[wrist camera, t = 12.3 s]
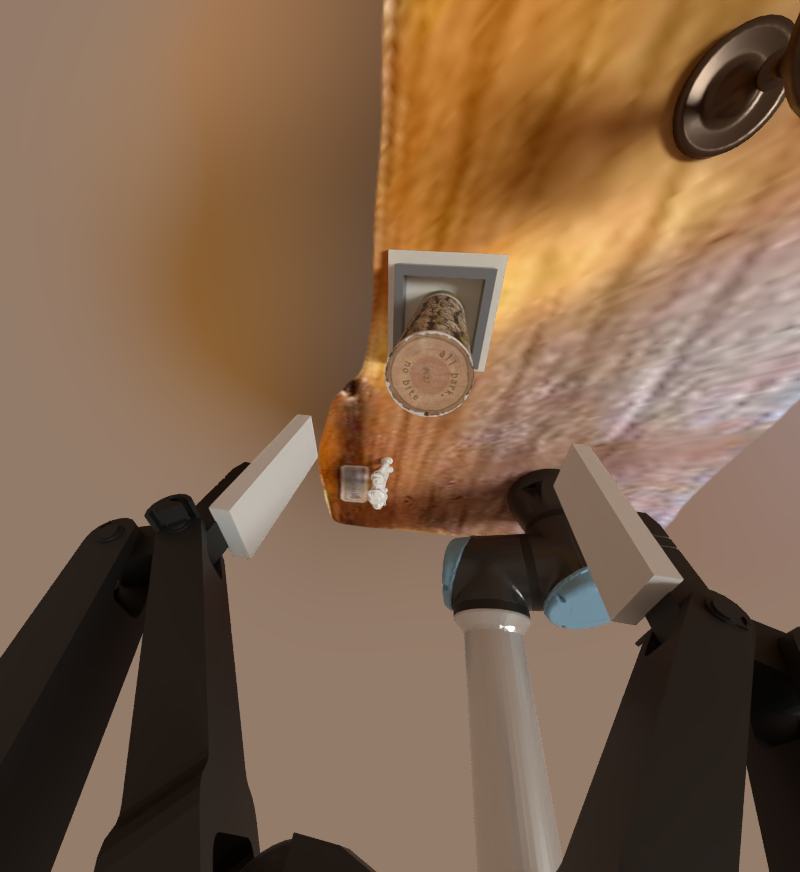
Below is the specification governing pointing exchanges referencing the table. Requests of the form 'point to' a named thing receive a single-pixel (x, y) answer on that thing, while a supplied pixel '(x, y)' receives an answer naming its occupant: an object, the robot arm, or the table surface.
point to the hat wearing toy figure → (380, 484)
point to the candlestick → (739, 86)
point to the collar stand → (452, 272)
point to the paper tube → (432, 358)
